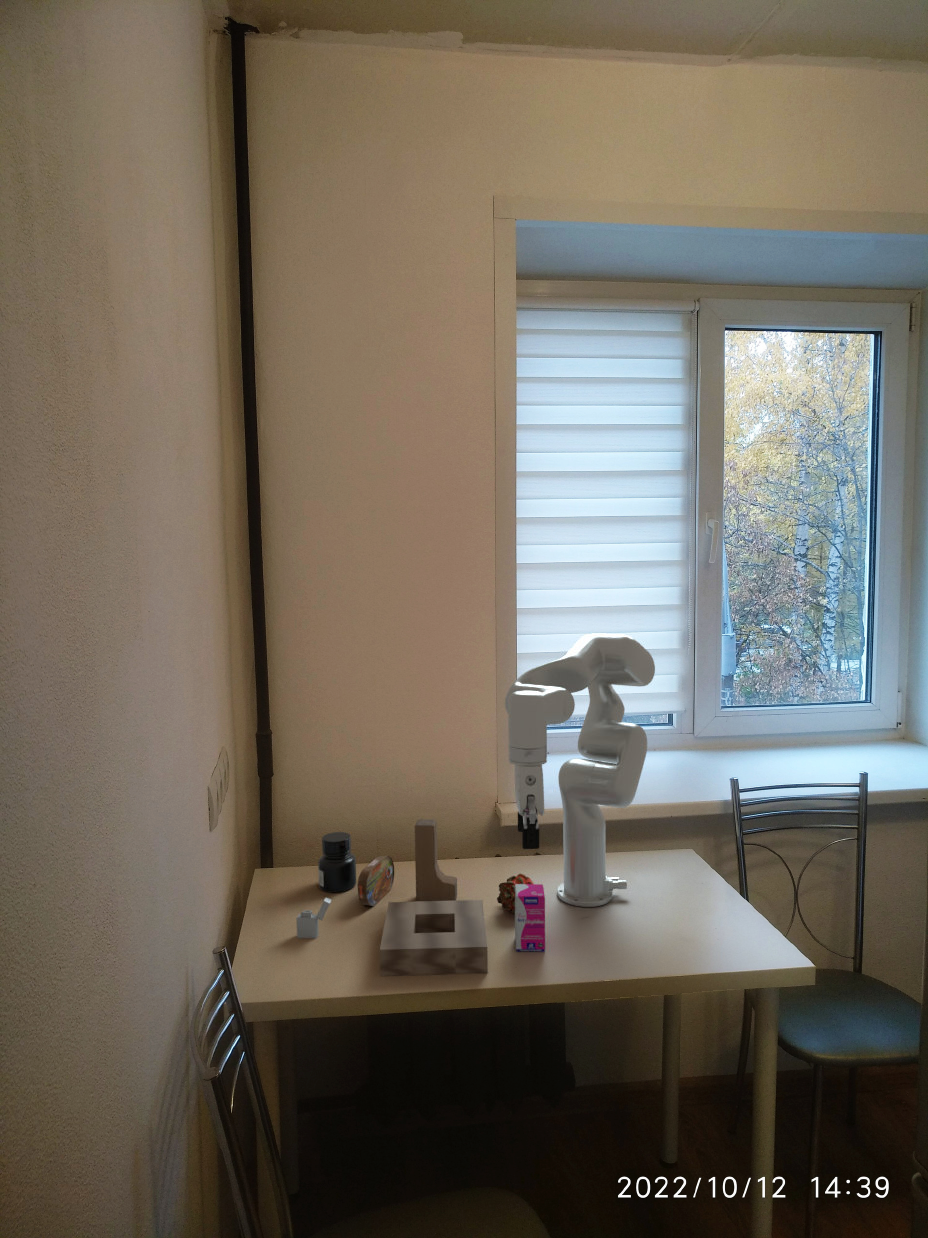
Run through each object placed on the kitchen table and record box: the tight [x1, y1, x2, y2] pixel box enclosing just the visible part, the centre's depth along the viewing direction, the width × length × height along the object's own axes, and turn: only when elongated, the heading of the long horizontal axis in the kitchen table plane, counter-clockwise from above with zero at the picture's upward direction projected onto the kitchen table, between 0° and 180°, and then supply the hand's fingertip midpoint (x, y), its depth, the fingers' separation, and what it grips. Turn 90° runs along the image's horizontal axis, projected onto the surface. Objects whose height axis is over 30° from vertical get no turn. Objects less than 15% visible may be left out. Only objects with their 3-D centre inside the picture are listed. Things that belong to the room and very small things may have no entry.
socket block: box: [379, 899, 489, 977], centre depth 148 cm, size 20×20×5 cm
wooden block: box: [414, 819, 458, 902], centre depth 170 cm, size 9×4×18 cm, turn 85°
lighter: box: [295, 897, 332, 939], centre depth 154 cm, size 7×2×8 cm, turn 86°
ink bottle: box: [317, 831, 357, 893], centre depth 178 cm, size 10×9×12 cm
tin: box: [356, 855, 395, 907], centre depth 172 cm, size 15×3×8 cm, turn 161°
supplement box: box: [514, 883, 546, 953], centre depth 148 cm, size 6×6×12 cm
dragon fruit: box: [496, 873, 534, 915], centre depth 164 cm, size 8×8×12 cm
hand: (528, 839), depth 147 cm, fingers open, 9 cm apart
